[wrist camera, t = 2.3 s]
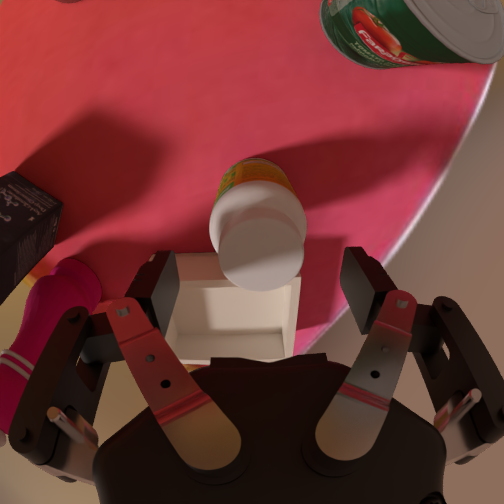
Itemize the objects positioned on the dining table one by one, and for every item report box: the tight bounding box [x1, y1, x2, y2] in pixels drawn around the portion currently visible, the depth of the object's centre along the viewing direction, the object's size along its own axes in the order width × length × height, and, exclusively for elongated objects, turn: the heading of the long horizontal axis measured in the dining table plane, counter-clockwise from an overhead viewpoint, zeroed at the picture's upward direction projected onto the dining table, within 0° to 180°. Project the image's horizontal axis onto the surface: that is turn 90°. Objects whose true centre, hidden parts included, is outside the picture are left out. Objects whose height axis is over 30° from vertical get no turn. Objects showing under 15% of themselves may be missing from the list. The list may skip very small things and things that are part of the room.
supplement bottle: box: [209, 158, 307, 292], centre depth 17 cm, size 5×5×10 cm
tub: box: [149, 252, 301, 364], centre depth 24 cm, size 10×12×4 cm
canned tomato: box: [319, 0, 504, 69], centre depth 9 cm, size 8×8×11 cm
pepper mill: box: [0, 259, 102, 447], centre depth 16 cm, size 7×7×20 cm
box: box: [0, 171, 63, 305], centre depth 16 cm, size 8×6×11 cm
